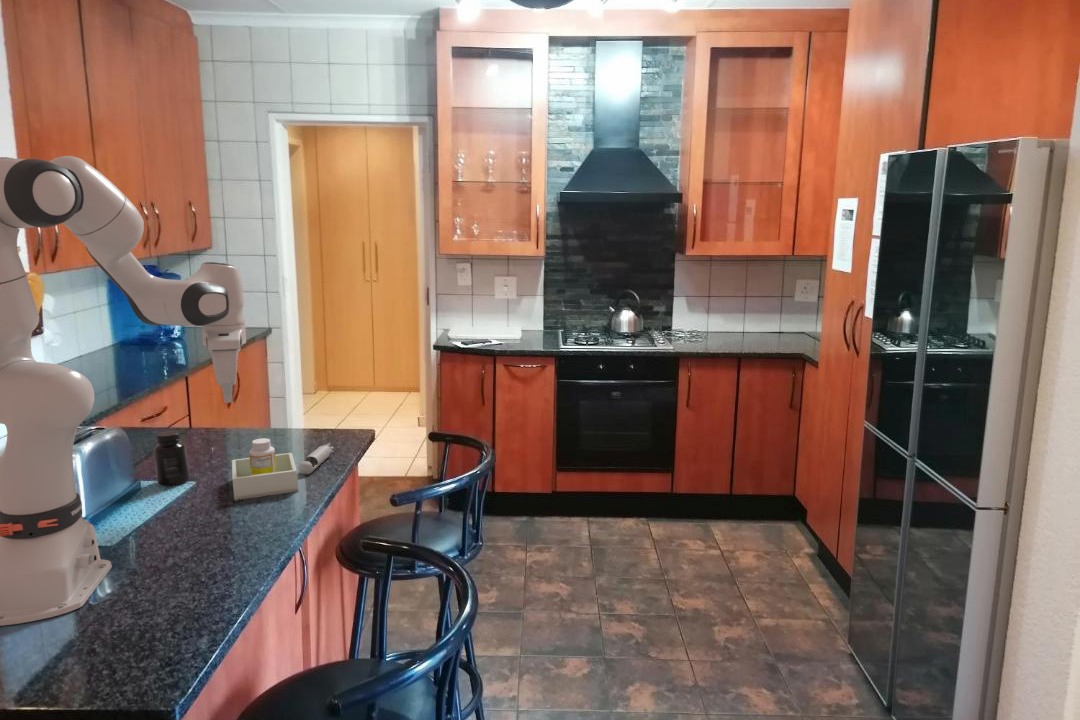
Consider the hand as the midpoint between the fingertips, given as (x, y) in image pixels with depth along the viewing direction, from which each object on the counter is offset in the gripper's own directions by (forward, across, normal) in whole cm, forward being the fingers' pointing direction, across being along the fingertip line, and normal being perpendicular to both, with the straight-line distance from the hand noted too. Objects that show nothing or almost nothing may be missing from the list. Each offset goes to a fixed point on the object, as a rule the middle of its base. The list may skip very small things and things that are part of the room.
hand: (228, 397), depth 164 cm
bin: (+22, -1, +7) cm, 23 cm away
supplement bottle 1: (+22, -12, -14) cm, 29 cm away
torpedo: (+22, -12, +20) cm, 32 cm away
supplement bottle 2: (+21, -1, +6) cm, 22 cm away
